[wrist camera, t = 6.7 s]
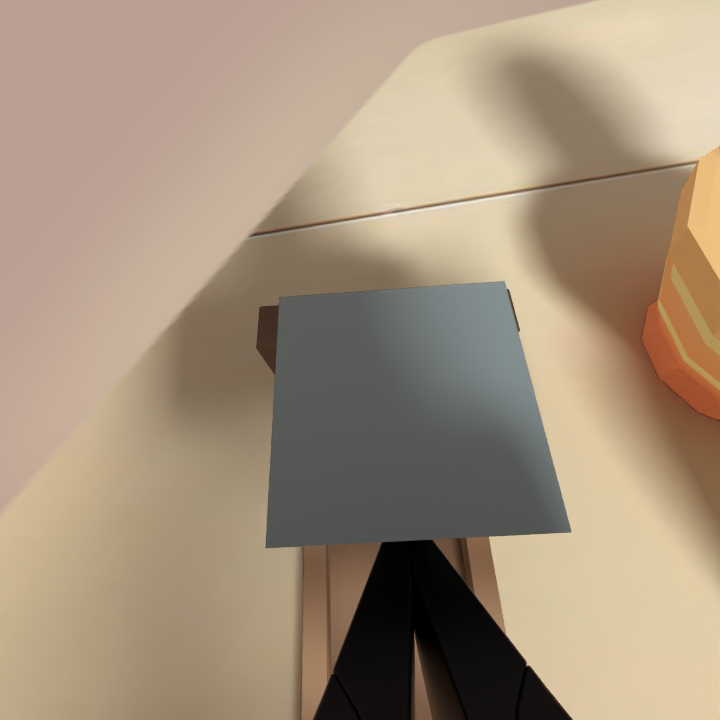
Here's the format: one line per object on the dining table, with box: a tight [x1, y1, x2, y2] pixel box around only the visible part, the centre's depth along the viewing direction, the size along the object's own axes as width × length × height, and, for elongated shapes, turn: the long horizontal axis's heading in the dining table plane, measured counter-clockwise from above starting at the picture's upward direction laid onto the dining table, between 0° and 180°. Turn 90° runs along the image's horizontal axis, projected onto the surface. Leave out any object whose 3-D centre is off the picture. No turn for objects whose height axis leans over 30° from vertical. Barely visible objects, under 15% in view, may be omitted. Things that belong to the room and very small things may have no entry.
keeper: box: [266, 281, 571, 548], centre depth 12 cm, size 5×5×11 cm
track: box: [256, 289, 520, 720], centre depth 12 cm, size 16×8×9 cm, turn 3°
